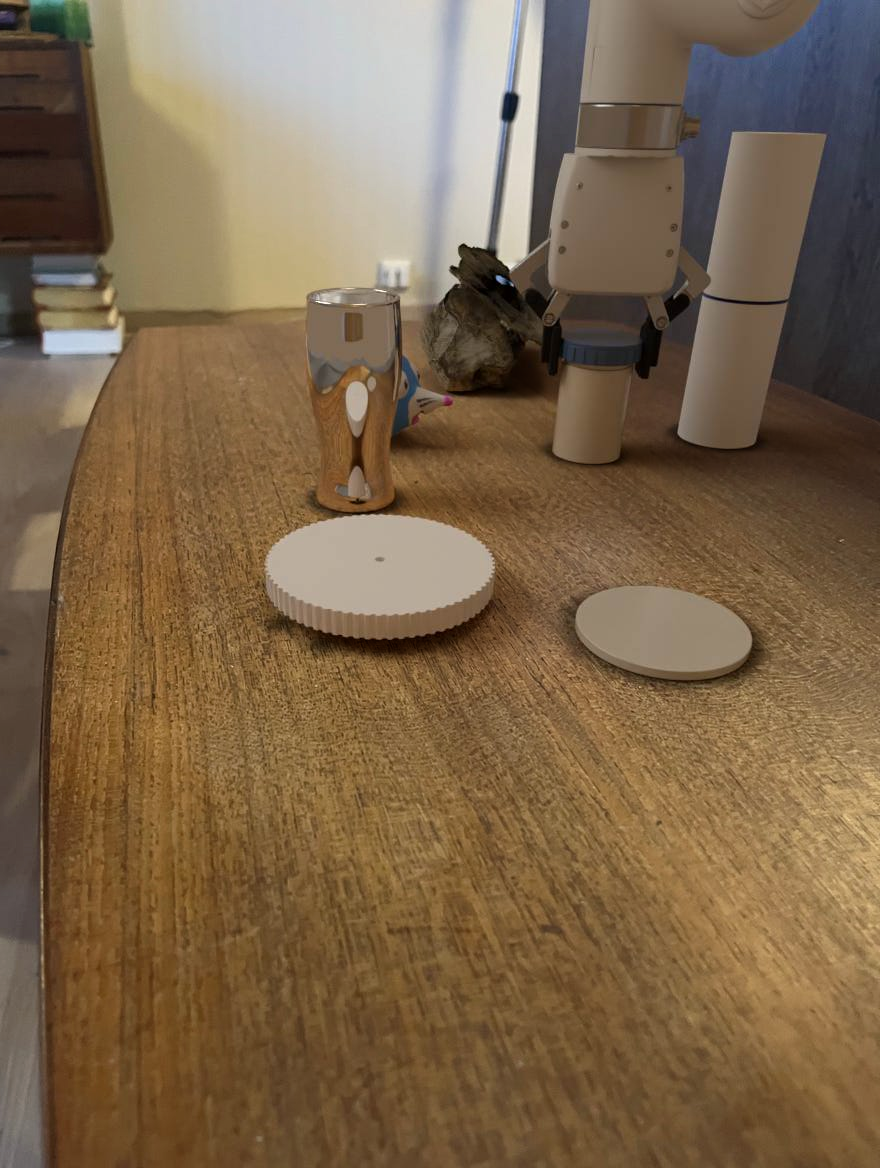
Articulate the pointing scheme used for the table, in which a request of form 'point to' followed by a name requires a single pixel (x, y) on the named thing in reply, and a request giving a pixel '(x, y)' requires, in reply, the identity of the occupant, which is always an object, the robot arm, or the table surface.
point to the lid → (601, 347)
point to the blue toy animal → (414, 399)
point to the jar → (591, 412)
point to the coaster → (663, 632)
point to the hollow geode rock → (478, 325)
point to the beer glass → (354, 392)
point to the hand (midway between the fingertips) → (596, 371)
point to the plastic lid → (379, 576)
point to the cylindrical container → (748, 284)
